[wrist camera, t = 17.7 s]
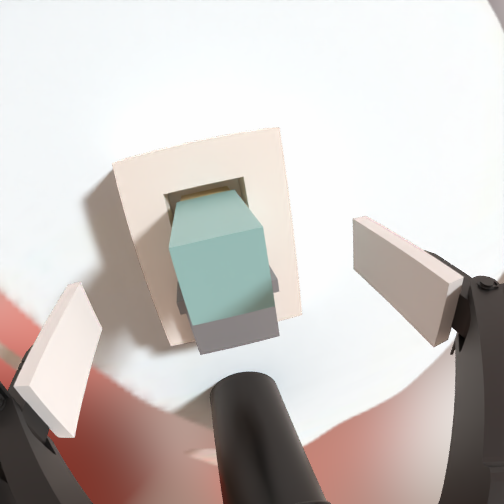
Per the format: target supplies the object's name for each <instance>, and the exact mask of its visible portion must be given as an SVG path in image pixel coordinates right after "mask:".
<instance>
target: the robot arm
mask: <svg viewBox="0 0 504 504" xmlns="http://www.w3.org/2000/svg"><path fill="white" fill-rule="evenodd" d="M353 258H354V270H355V271H356V272H357V273H358V274H359V275H360V276H362V277H363V278H364V279H365V280H366V281H367V282H368V283H369V284H370V285H371V286H372V287H373V288H374V289H375V290H376V291H377V292H378V293H380V294H381V295H382V296H383V297H384V298H385V299H386V300H387V301H388V302H389V303H390V304H391V305H392V306H393V307H394V308H395V309H396V310H397V311H398V312H399V313H400V314H401V315H402V316H403V317H404V318H405V319H406V320H407V321H408V322H409V323H410V324H411V325H412V326H413V327H414V328H415V329H416V330H417V331H418V332H419V333H420V334H421V335H422V336H423V337H424V338H425V339H426V340H427V341H428V342H429V343H430V344H431V345H432V346H433V347H435V346H437V345H439V344H441V343H443V342H445V341H446V340H448V338H449V334H450V331H451V327H452V328H453V329H455V330H456V331H457V334H456V338H455V341H454V344H453V347H452V350H451V355H452V354H453V353H454V350H456V353H455V354H456V377H455V403H454V416H453V427H452V437H451V444H450V451H449V458H448V464H447V469H446V475H445V480H444V485H443V489H442V494H441V498H440V501H439V503H438V504H504V284H499V283H498V282H497V281H496V280H495V279H492V278H490V277H486V276H476V277H474V278H471V277H470V276H468V275H467V274H465V273H464V272H462V271H461V270H459V269H458V268H456V267H455V266H453V265H451V264H450V263H449V262H447V261H446V260H445V261H444V259H443V258H441V257H439V256H438V255H436V254H434V253H431V252H428V251H425V250H422V249H421V248H419V247H417V246H416V245H414V244H413V243H411V242H409V241H408V240H406V239H405V238H403V237H401V236H400V235H398V234H396V233H395V232H393V231H391V230H390V229H388V228H386V227H384V226H383V225H381V224H379V223H378V222H376V221H374V220H372V219H371V218H369V217H367V216H363V217H358V218H354V219H353ZM102 329H103V328H102V326H101V324H100V322H99V320H98V318H97V316H96V314H95V312H94V310H93V308H92V306H91V303H90V301H89V299H88V297H87V295H86V292H85V290H84V288H83V285H82V283H81V282H77V283H73V284H69V285H67V287H66V288H65V290H64V292H63V293H62V295H61V297H60V298H59V300H58V302H57V303H56V305H55V307H54V308H53V310H52V312H51V313H50V315H49V317H48V319H47V320H46V322H45V324H44V326H43V328H42V329H41V331H40V333H39V335H38V337H37V339H36V341H35V343H34V344H33V345H32V346H31V347H30V349H29V350H28V351H27V352H26V354H25V355H24V357H23V359H22V363H20V365H19V367H18V370H17V372H16V374H15V376H14V378H13V380H12V382H11V385H10V387H9V389H8V391H7V390H6V388H5V387H4V386H3V384H2V383H1V382H0V504H93V503H92V502H91V501H90V499H89V498H88V496H87V495H86V494H85V492H84V491H83V489H82V488H81V486H80V485H79V484H78V482H77V481H76V479H75V478H74V476H73V475H72V473H71V471H70V470H69V468H68V467H67V465H66V463H65V462H64V460H63V458H62V457H61V455H60V453H59V452H58V450H57V448H56V447H55V445H54V443H53V441H52V440H51V439H50V438H49V437H48V436H47V434H48V431H49V428H50V429H51V430H52V431H53V432H54V433H55V434H56V436H57V437H63V438H64V437H65V438H74V437H75V432H76V427H77V422H78V418H79V413H80V409H81V404H82V400H83V396H84V392H85V388H86V384H87V380H88V376H89V373H90V369H91V365H92V362H93V358H94V355H95V351H96V348H97V345H98V342H99V338H100V335H101V332H102Z"/></svg>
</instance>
